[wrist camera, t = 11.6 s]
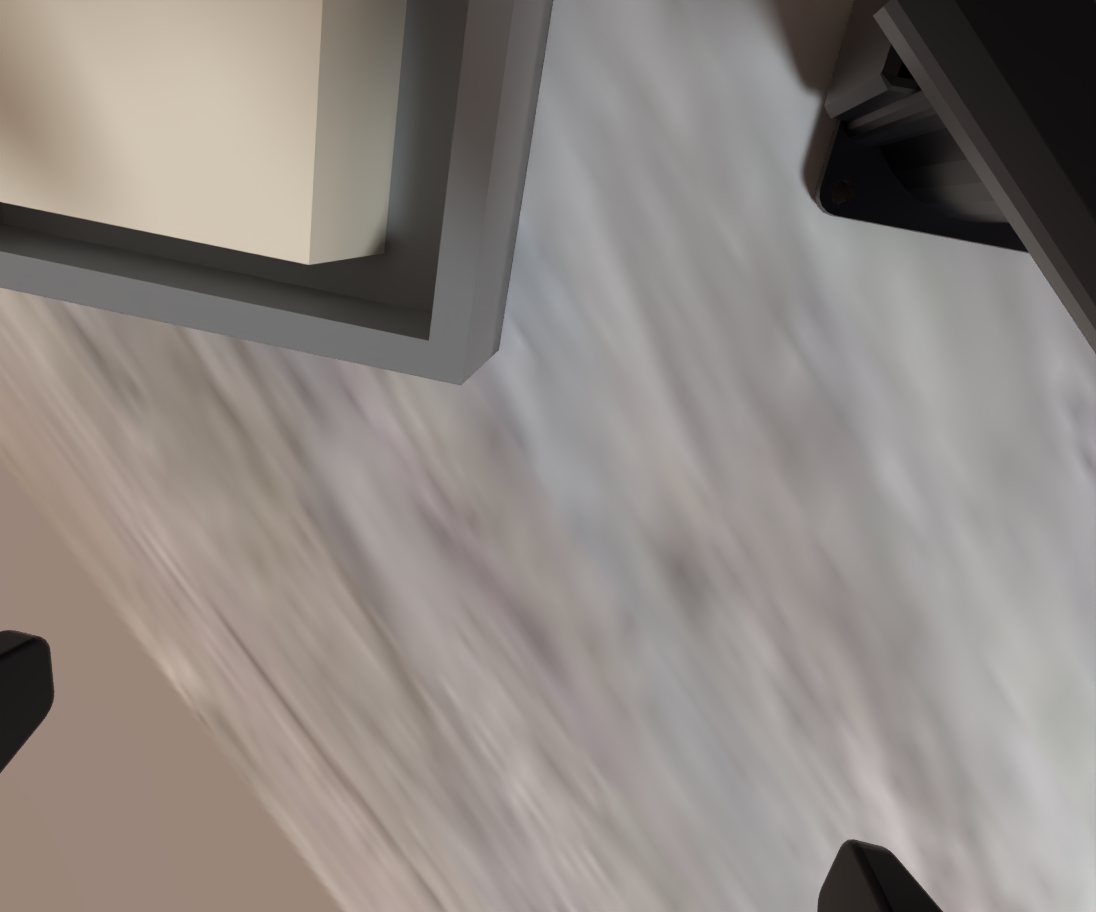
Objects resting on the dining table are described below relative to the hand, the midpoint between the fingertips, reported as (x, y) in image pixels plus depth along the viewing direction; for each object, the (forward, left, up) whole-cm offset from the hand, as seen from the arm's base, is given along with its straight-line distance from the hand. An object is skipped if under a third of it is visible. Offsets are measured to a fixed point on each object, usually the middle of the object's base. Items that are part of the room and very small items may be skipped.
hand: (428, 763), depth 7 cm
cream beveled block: (+9, -7, -11) cm, 16 cm away
